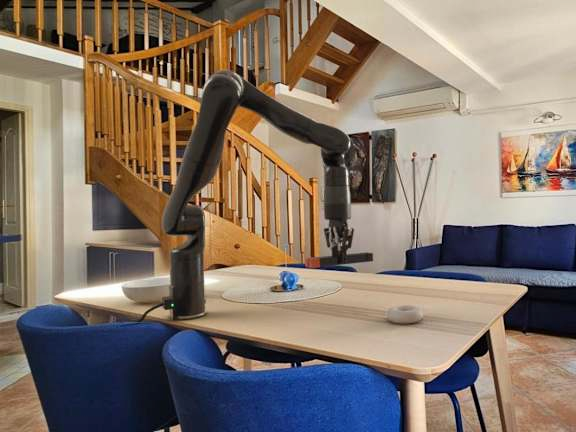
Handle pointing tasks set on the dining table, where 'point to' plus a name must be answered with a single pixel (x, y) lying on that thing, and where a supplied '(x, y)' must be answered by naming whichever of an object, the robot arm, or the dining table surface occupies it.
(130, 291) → the serving bowl
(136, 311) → the dining table surface
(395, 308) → the donut
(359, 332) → the dining table surface
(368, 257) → the dark rod red tip
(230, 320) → the dining table surface
